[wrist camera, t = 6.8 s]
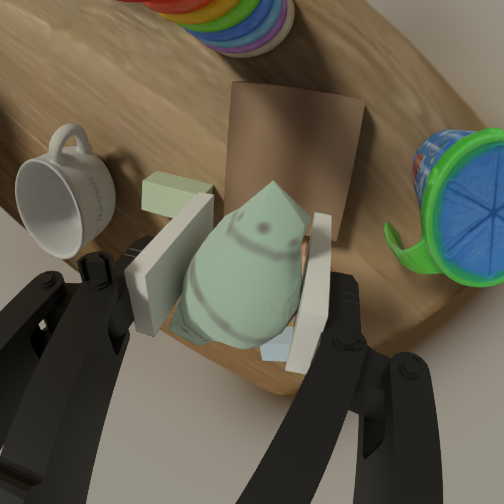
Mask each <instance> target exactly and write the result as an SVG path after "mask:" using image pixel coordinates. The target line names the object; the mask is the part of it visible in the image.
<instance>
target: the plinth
mask: <svg viewBox="0 0 504 504" xmlns="http://www.w3.org/2000/svg"><path fill="white" fill-rule="evenodd" d="M364 107H365V101H364V100H363V99H360V98H355V97H350V96H345V95H340V94H335V93H330V92H324V91H318V90H312V89H306V88H299V87H292V86H284V85H276V84H267V83H257V82H246V81H236V82H232V90H231V103H230V116H229V130H228V145H227V161H226V178H225V196H224V215H223V218H224V217H225V216H226V215H228V214H230V213H231V212H233V211H235V210H237V209H239V208H241V207H242V206H243V205H244V204H245V203H247V202H248V201H249V200H250V199H251V198H253V197H254V196H255V195H256V194H257V193H259V192H260V191H261V190H262V189H263V188H265V187H266V186H267V185H268V184H269V183H271V182H272V181H275V182H276V183H277V184H278V185H279V186H280V187H281V188H282V189H283V190H284V191H285V192H286V193H287V194H288V195H289V196H290V197H291V198H292V199H293V200H294V201H295V202H296V203H297V204H298V205H299V206H300V207H301V208H302V209H303V210H304V211H305V212H306V213H307V214H308V215H309V216H310V217H311V218H310V221H309V224H308V226H307V229H306V232H305V236H310V234H311V229H312V224H313V219H314V214H315V212H316V213H322V214H327V215H331V241H337V237H338V233H339V229H340V225H341V221H342V217H343V212H344V208H345V204H346V199H347V195H348V190H349V186H350V181H351V176H352V171H353V166H354V162H355V157H356V151H357V146H358V141H359V135H360V130H361V124H362V119H363V113H364Z"/></svg>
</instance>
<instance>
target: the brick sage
mask: <svg viewBox="0 0 504 504" xmlns="http://www.w3.org/2000/svg"><path fill="white" fill-rule="evenodd" d="M212 191H213V185H212V184H208V183H204V182H200V181H196V180H192V179H188V178H184V177H180V176H176V175H172V174H167V173H163V172H159V171H156V172H155V173H153V174H152V175H150V176H149V177H147V178H146V179H144V180H143V183H142V210H145V211H149V212H152V213H156V214H160V215H163V216H167V217H170V218H174V217H175V216H176V215H177V214H178V213H179V212H180V211H181V210H182V209H183V208H184V207H185V206H186V205H187V204H188V203H189V202H190V201H191V200H192V199H193V198H194V197H195V196H196V195H197V194H198V193H199V192H200V193H207V194H212Z"/></svg>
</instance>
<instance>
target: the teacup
mask: <svg viewBox="0 0 504 504" xmlns="http://www.w3.org/2000/svg"><path fill="white" fill-rule="evenodd" d="M72 135H74V136H75V138H76V142H77V146H69V147H64V148H63V146H64V144H65V142H66V140H67V139H68V138H69V137H70V136H72ZM15 196H16V203H17V207H18V211H19V214H20V216H21V219H22V221H23V223H24V225H25V227H26V229H27V231H28V232H29V234H30V235H31V237H32V238H33V239H34V240H35V242H36V243H38V245H39V246H40V248H42V250H44V251H46V252H47V253H48V254H50V255H51V256H53V257H56V258H58V259H69V258H72V257H74V256H75V255H76V254H77V253H78V252H79V251H80V249H82V248H83V247H84V246H85V245H87V244H88V243H89V242H90V241H92V240H93V239H94V238H95V237H96V236H97V235H99V234H100V233H101V232H102V231H103V230H104V229H105V227H106V226H107V225H108V224H109V222H110V220H111V218H112V216H113V213H114V209H115V203H116V195H115V187H114V183H113V180H112V177H111V175H110V172H109V170H108V169H107V167H106V165H105V164H104V163H103V161H102V160H101V159H100V158H99V157H98V156H97V155H96V154H94V153H93V152H92V146H91V145H90V144H89V142H88V138H87V135H86V133H85V131H84V129H83V128H82V127H81V126H79V125H77V124H74V123H68V124H65V125H63V126H61V127H60V128H59V129H58V130H57V131H56V132H55V133H54V135H53V136H52V138H51V141H50V144H49V153H47V154H44V155H42V156H40V157H37V158H32V159H29V160H28V161H26V162H25V163H23V165H22V166H21V167H20V169H19V171H18V174H17V177H16V182H15Z"/></svg>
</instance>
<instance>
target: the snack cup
mask: <svg viewBox="0 0 504 504" xmlns="http://www.w3.org/2000/svg"><path fill="white" fill-rule="evenodd" d="M412 176H413V183H414V188H415V192H416V194H417V198H418V202H419V206H420V209H421V225H422V237H421V240H420V241H419V243H417V244H416V245H414V246H413V247H410V248H408V249H405V250H403V249H402V243H401V238H400V235H399V234H398V232H397V231H396V230H395V228H394V227H393V226H392V225H391V224H390V223H388V222H386V223H385V225H384V234H385V238H386V241H387V243H388V245H389V247H390V249H391V250H392V251H393V253H394V254H395V256H396V257H397V258H398V260H399V261H400V262H401V264H402V265H403V266H404V267H406V268H407V269H409V270H411V271H413V272H416V273H420V274H445V275H446V276H448V277H449V278H450V279H452V280H454V281H455V282H457V283H460V284H462V285H465V286H470V287H490V286H493V285H497V284H501V283H503V282H504V131H503V130H502V129H501V128H487V129H484V130H482V131H478V132H476V131H464V130H443V131H441V132H438V133H436V134H433V135H432V136H430V137H429V138H428V139H427V140H426V141H425V142H424V143H423V144H422V145H421V146H420V148H419V149H418V150H417V153H416V155H415V157H414V163H413V170H412Z"/></svg>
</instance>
